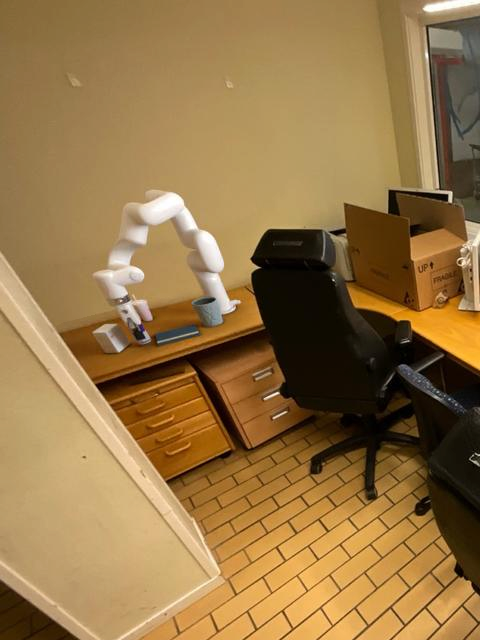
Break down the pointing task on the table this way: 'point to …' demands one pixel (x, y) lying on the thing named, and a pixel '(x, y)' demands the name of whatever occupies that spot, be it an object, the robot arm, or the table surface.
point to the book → (176, 334)
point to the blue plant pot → (208, 311)
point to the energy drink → (148, 339)
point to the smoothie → (142, 309)
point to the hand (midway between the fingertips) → (140, 336)
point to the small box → (111, 338)
